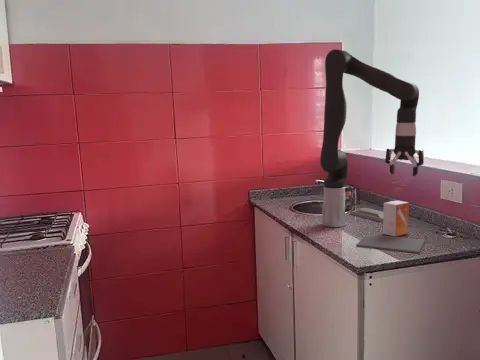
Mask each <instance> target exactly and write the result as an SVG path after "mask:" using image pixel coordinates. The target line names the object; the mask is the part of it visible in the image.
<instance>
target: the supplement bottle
mask: <svg viewBox="0 0 480 360" xmlns="http://www.w3.org/2000/svg"><path fill="white" fill-rule="evenodd" d="M351 209H352V192H351V190H350V186H345V211H347V210H351Z"/></svg>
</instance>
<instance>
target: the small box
mask: <svg viewBox="0 0 480 360" xmlns="http://www.w3.org/2000/svg"><path fill="white" fill-rule="evenodd" d="M409 204H410V203H409V202H408V201H403V200H398V199H396V200H391V201H388V202H383V211H382V212H383V222H382V225H383V226H382V234H384V235H385V236H391V237H400V236H403V235H408V234H409V209H410V208H409Z"/></svg>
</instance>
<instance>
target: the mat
mask: <svg viewBox="0 0 480 360" xmlns="http://www.w3.org/2000/svg"><path fill="white" fill-rule="evenodd" d="M425 242H426V239H422V238H419V239H418V238H412V237H411V238H410V237H403V236H402V237H400V236H396V237H395V236H390V235H379V234H371V233H370V234H369V233H366V234H365V235H364V236H363V237H362V238H361V239H360V240H359V241H358V243H356V247H359V248H370V249H377V250H378V249H379V250H385V251H386V250H388V251H396V252H405V253H412V254H414V253H415V254H420V252H421V250H422V249H423V246H424V244H425Z"/></svg>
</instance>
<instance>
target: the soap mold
mask: <svg viewBox="0 0 480 360" xmlns="http://www.w3.org/2000/svg"><path fill="white" fill-rule="evenodd" d="M383 212H384V211H383V210H382V211H381V210H377V209H373V208H369V207H361V208H358V209H356V210H352V211H350V215H351V216H356V217H359V218H364V219H368V220H370V221H375V222H379V223H383Z"/></svg>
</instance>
